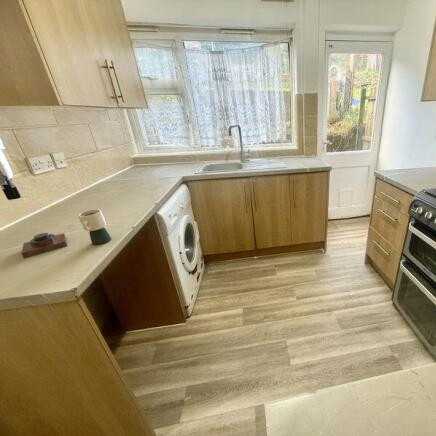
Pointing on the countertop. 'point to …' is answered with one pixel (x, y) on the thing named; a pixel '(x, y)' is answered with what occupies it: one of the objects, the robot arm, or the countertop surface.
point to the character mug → (95, 226)
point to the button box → (44, 245)
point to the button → (41, 236)
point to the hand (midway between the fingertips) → (14, 198)
